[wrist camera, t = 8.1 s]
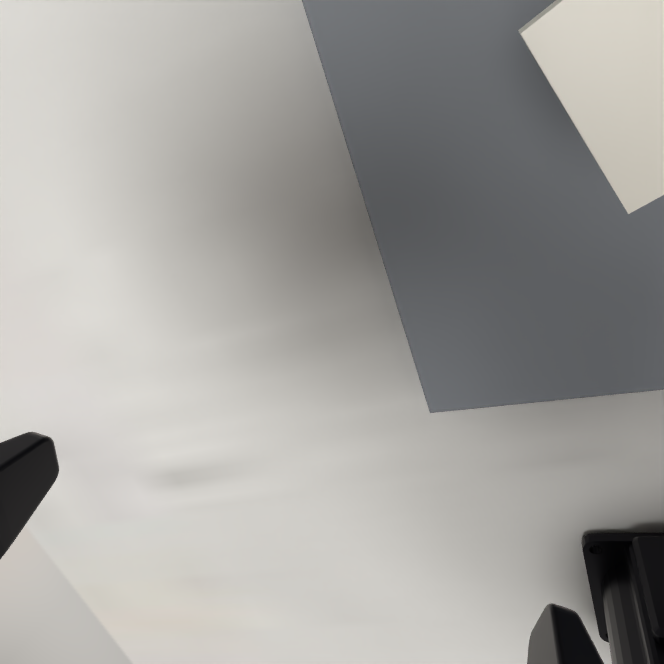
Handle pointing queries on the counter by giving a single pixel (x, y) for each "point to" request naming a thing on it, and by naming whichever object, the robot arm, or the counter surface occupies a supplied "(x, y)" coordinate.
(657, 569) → the robot arm
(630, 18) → the tuning peg
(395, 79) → the dial plate
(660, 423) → the counter surface
